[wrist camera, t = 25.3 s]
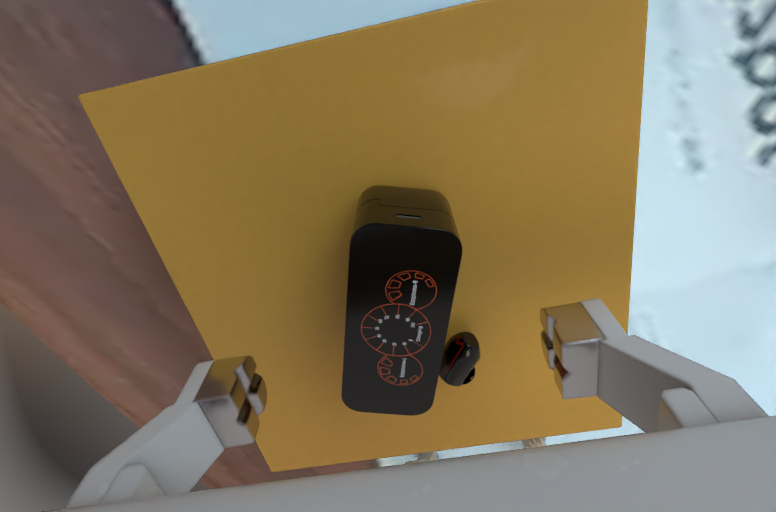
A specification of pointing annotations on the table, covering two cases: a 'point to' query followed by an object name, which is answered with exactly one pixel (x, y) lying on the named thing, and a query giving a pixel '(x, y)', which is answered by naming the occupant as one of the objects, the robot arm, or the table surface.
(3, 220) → the table surface
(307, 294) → the cover
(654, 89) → the table surface
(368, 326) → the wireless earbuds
